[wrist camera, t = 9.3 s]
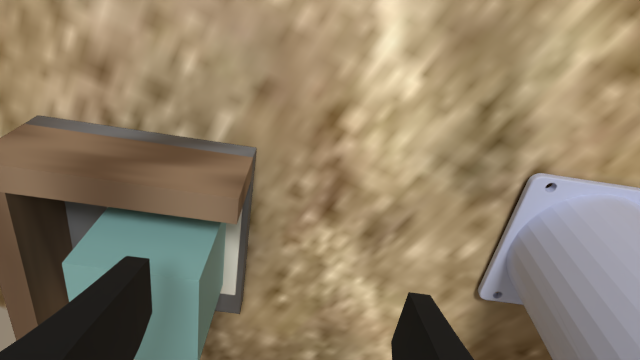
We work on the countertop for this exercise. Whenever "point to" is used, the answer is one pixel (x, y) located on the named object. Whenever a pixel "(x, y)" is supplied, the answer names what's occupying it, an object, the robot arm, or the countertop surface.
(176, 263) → the teal block
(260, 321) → the countertop surface
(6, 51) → the countertop surface
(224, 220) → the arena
